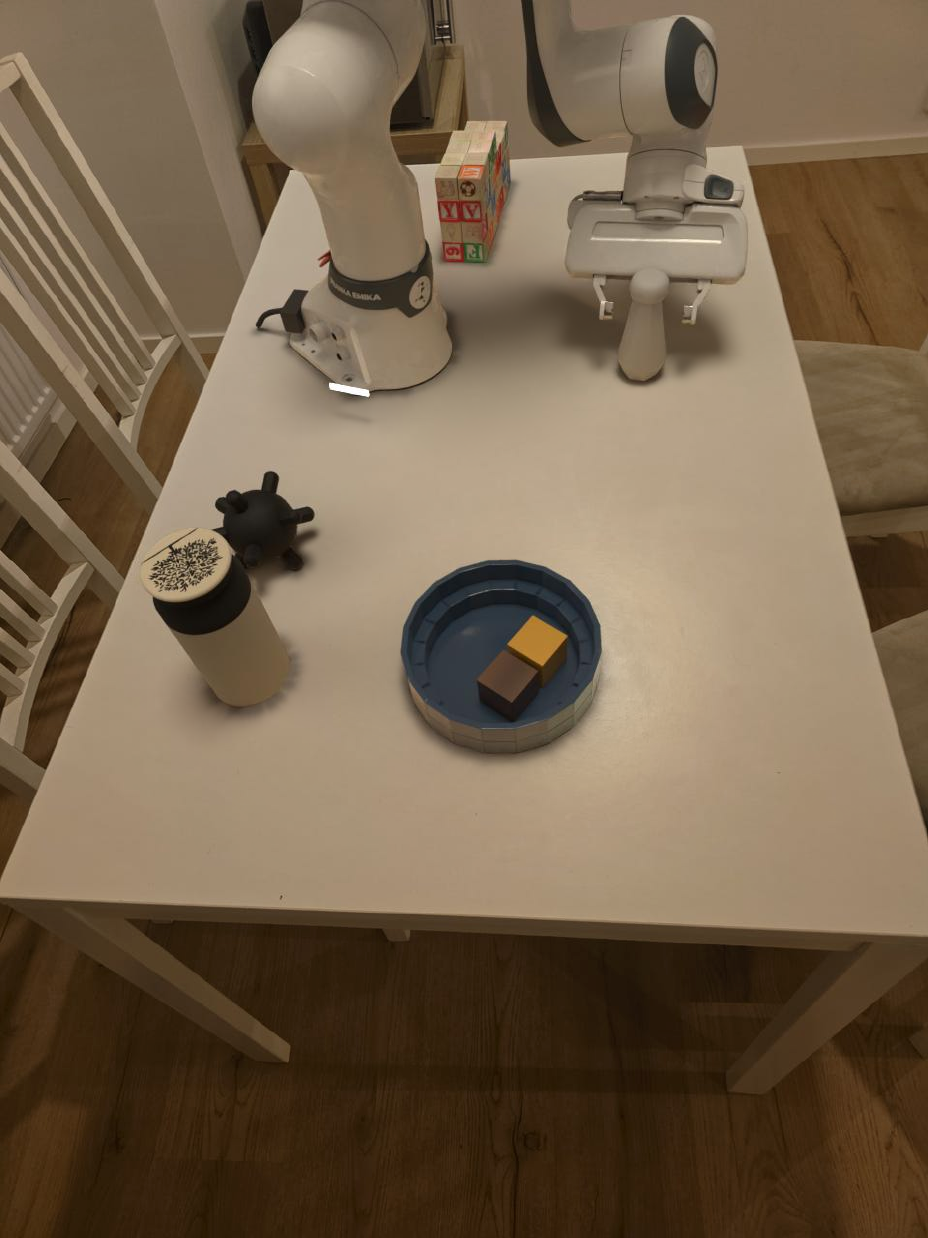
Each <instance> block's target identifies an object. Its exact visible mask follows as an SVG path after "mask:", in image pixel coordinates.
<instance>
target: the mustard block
mask: <svg viewBox="0 0 928 1238" xmlns="http://www.w3.org/2000/svg"><path fill="white" fill-rule="evenodd" d="M567 642H568V636H567V635H565V634H564V633H562V632H560V631H559V630H557V629H555V628H554V627H552V626H550V625H549V624H547V623H545V622H543V621H542V620H540V619H538V618H537V617H535V616H533V615H532V617H531V618H530V619H529V620H528V621H527V622H526V623H525V625H524V626H523V627H522V628H521V629H520V630H519V631H518V633H517V634H516V635H515V636H514V637H513V638H512V639H511V641H510V642H509V643H508V644H507V647H508V653H510V654H512V655H513V656H515V657H516V658H518V659H520V660H521V661H523V662H525V663H526V664H528V665H529V666H531V667H533V668H534V669H536V670H537V671H538V680H539V685H540V686H541V687H544V685H545V684H546V683H547V682H548V680H549V679H550V678H551V677H552V676H553V674H554V673H555V672H556V671H557V670H558V668H559V667H560V666H561V665H562V663H563V662H564V661H565V660H566V659H567Z"/></svg>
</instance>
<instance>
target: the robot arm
mask: <svg viewBox="0 0 928 1238" xmlns="http://www.w3.org/2000/svg"><path fill="white" fill-rule="evenodd" d="M520 2H521V13H522V21H523V23H522V24H523V31H524V43H525V53H526V55H525V56H526V102H527V110H528V114H529V119H530V121H531V123H532V125H533V126H534V128H536V130H537V131H538V132H539V134H541V136H543V137H544V138H545V139H546V140H547V141H548V142H549V143H550V144H552V145H554V147H557V148H567V147H570V146H575V145H579V144H584V143H589V142H591V141H594V140H604V139H614V138H624V137H632V140H631V145H630V148H629V150H628V154H627V157H626V162H625V170H624V171H625V172H624V179H623V187H622V190H602V191H596V190H591V189H590V190H583V191H582V193H580V194H577V195H576V196H575V197H574V198H572V200H571V201H570V203H569V204H568V208H567V217H566V223H567V227H568V229H569V230H570V232H569V235H568V240H567V245H566V249H565V250H566V251H565V257H564V268H565V270H566V272H567V273H568V275H569V276H570V277H571V278H572V279H587V280H588V279H590V280H593V282H592V286H593V290H594V293H595V294H596V297H597V299H598V302H599V304H600V305H599V313H598V314H599V317H598V318H599V321H601V320H602V321H613V316H614V315H613V312H614V307H615V304H614V301H607V299H606V296H605V295H604V292H603V290H606V289H607V281H608V280H609V281H610V280H611V281H631V280H632V277H633V275H634V274H636V273H637V272H638V271H640V270H642V269H646V268H655V269H659V270H661V271H663V272H664V273H665V274H667V276H668V278H669V283H677V284H679V283H680V284H696V289H695V293H696V294H698V296H697V297H696V298H695V300H694V301H693V303H692V305H684V306H683V308H682V318H681V325H696V318H697V312H698V309H699V308H700V306H701V305H702V304H703V302H704V301H705V299H706V298H707V296H708V295H709V293H710V290H711V285H724V286H734V285H737V283H739V282H740V281H741V280H742V279H743V277H745V273H746V268H747V263H748V262H747V261H748V251H749V250H748V248H749V226H748V220H747V216H746V214H745V212H744V211H743V210H742V208H741V207H742V206H743V203H744V198H745V186H744V184H743V183H742V182H741V181H739V180H737V179H734V178H733V177H728V176H726V175H723V174H721V173H718V172H715V171H713V170H710V169H708V168H707V165H708V154H707V139H708V134H709V132H710V129H711V126H712V124H713V119H714V111H715V105H716V104H715V103H716V96H717V95H716V94H717V85H718V84H717V83H718V75H719V74H718V73H719V68H718V67H719V65H718V47H717V46H718V43H717V36H716V33H715V30H714V28H713V27H712V26H711V24H709V23H708V21H706V20H704V19H703V18H701V17H698V16H695V15H691V14H674V15H670V16H665V17H659V18H652V19H645V20H639V21H634V22H632V23H629V24H628V23H627V24H622V25H617V26H611V27H610V26H609V27H604V28H599V29H598V28H597V29H593V30H586V29H583V28H581V27H579V26H578V25H576V24H575V22H574V21H573V15H572V0H520ZM426 37H427V21H426V14H425V10H424V7H423V4H422V1H421V0H302V7H301V10H300V16H299V17H298V18H297V19H296V20H295V21H294V23H292V25H291V26H290V27H289V28H288V29H287V30H285V32H284V33H283V35H281V36H280V37H279V38H278V39H277V40H276V41H275V43H274V44H273V45H272V47H270V50H269V52H268V54H267V56H266V58H265V61H263V65H262V67H261V69H260V72H259V74H258V77H257V78H256V79H257V80H256V82H255V84H254V87H253V90H252V96H251V97H252V98H251V106H252V107H251V108H252V115H253V119H254V122H255V125H256V128H257V130H258V133H259V135H260V137H261V139H262V140H263V142H264V143H265V145H266V146H267V148H268V149H269V150H270V151H271V153H272V154H273V155H274V156H275V157H276V158H277V159H278V160H279V161H280V162H282V163H283V164H284V165H286V166H287V167H289V168H291V169H292V170H294V171H296V172H298V173H301V174H302V175H303V177H304V179H305V180H306V182H307V183H308V185H309V187H310V189H311V191H312V193H313V196H314V198H315V201H316V204H317V206H318V210H319V212H320V217H321V221H322V225H323V228H324V232H325V236H326V239H327V245H328V248H329V250H327V251H326V252H325V253H323V254H322V255H321V256H319V257H318V258H317V261H318V262H319V261H321V262H320V263H319V268H322V267H324V266H326V265H327V264H328V269H327V270H328V272H327V274H326V275H325V276H324V277H323V278H321V279H320V280H318V282H316V283H315V284H314V285H313V286H312V287H311V288H310V289H309V290H305V289H297V288H294V289H293V290H292V292H291V294H290V295H289V297H288V298H287V300H286V301H285V302H284V305H283V306H282V307H277V308H270V309H268V310H266V311H264V312H262V313H261V314H260V316H259V317H258V319H257V321H256V323H255V327H256V328H257V329H259V328H261V327H262V325H263V324H264V322H265V320H266V319H268V318H269V317H272V316H276V315H280V318H281V322H282V325H283V328H284V331H285V333H290V336H289V345H290V348H292V349H293V350H294V351H295V352H297V353H298V354H299V355H301V356H302V357H303V358H304V359H305V360H307V361H308V362H309V363H310V364H312V365H313V366H314V367H315V368H316V369H318V371H320V372H321V373H323V374H324V375H325V376H326V377H327V378H328V379H330V380H331V382H329V384H328V385H329V390H333V391H338V392H343V393H347V394H348V395H350V396H351V395H352V396H356V395H358V396H364V397H370V392H373V391H378V390H398V389H404V388H409V387H413V386H416V385H418V384H421V383H423V382H425V381H428V380H429V379H431V378H432V377H434V376H436V375H437V374H439V372H441V371H442V370H443V369H444V368H445V367H446V365H447V364H448V362H449V360H450V358H451V356H452V352H453V343H452V339H451V338H450V337H451V336H450V334H449V331H448V329H447V326H448V317H447V313H446V310H445V309H443V308H442V306H441V301H440V298H439V293H438V289H437V285H436V281H435V277H434V267H433V255H432V251H431V248H430V244H429V242H428V240H427V239H426V236H425V228H424V222H423V221H424V220H423V214H422V208H421V207H422V205H421V198H420V192H419V191H420V190H419V184H418V181H417V179H416V177H415V175H414V173H413V172H412V171H411V169H410V168H409V167H408V166H406V165H405V164H403V162H400V159H399V158H398V155H397V153H396V150H395V147H394V144H393V140H392V137H391V116H392V111H393V108H394V107H395V105H396V103H397V102H398V101H399V99H400V98H401V96H402V95H403V93H404V92H405V91H406V89H407V88H408V87H409V85H410V83H411V82H412V80H413V79H414V77H415V76H416V73H417V70H418V67H419V64H420V60H421V58H422V54H423V49H424V46H425V41H426ZM581 199H582V200H581Z"/></svg>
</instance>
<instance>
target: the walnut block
mask: <svg viewBox="0 0 928 1238" xmlns="http://www.w3.org/2000/svg"><path fill="white" fill-rule="evenodd" d="M477 686H478V693H479V700H480V701H481V702H483V703H484V704H486V705H487V706H489V707H490V708H492V709H493V710H495V711H496V712H498V713H499V714H501V715H502V716H504V717H505V718H507V719H508V720H510V721H511V722H515V721H516V719H517V718H518V717H519V716H520V714H521V713H522V712H523V711H524V710H525V708H526V707H527V706H528V705H529V704H530V702H531V701H532V700H533V699H534V697H535V696H536V695H537V694H538V693H539V680H538V671H537V670H536V669H534V668H533V667H531V666H529V665H528V664H526V663H525V662H523V661H521V660H520V659H518V658H516V657H515V656H513V655H512V654H510V653H508V652H507V651H505V650H504V649H503V650H502V651H501V652H500V653H499V655H498V656H497V657H496V658H495V659H494V660H493V661H492V663H491V664H490V665H489V666H488V667H487V668H486V669H485V671H484V672H483V673H482V674H481V675H480V676H479V677H478V679H477Z"/></svg>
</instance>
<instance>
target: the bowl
mask: <svg viewBox="0 0 928 1238" xmlns="http://www.w3.org/2000/svg"><path fill="white" fill-rule="evenodd" d="M532 615H533V616H535V617H537V618H538V619H540V620H542V621H543V622H545V623H547V624H549V625H550V626H552V627H554V628H555V629H557V630H559V631H560V632H562V633H564V634H565V635H567V636H568V642H567V659H566V660H565V661H564V662H563V663H562V665H561V666H560V667H559V668H558V670H557V671H556V672H555V673H554V674H553V676H552V677H551V678H550V679H549V680H548V682H547V683H546V684H545V685H544V687H541V686H540V685H539V693H538V694H537V695H536V696H535V697H534V699H533V700H532V701H531V702H530V704H529V705H528V706H527V707H526V708H525V710H524V711H523V712H522V713H521V714H520V716H519V717H518V718H517V719H516V721H515V722H511V721H510V720H508V719H507V718H505V717H504V716H502V715H501V714H499V713H498V712H496V711H495V710H493V709H492V708H490V707H489V706H487V705H486V704H484V703H483V702H481V701H480V700H479V693H478V686H477V679H478V677H479V676H480V675H481V674H482V673H483V672H484V671H485V669H486V668H487V667H488V666H489V665H490V664H491V663H492V661H493V660H494V659H495V658H496V657H497V656H498V655H499V653H500V652H501V651H502V650H503V649H504V650H505V651H507V652H508V647H507V644H508V643H509V642H510V641H511V639H512V638H513V637H514V636H515V635H516V634H517V633H518V631H519V630H520V629H521V628H522V627H523V626H524V625H525V623H526V622H527V621H528V620H529V619H530V618H531V617H532ZM400 643H401V644H400V656H401V660H402V665H403V668H404V671H405V676H406V678H407V683H408V687H409V690H410V693H411V697H412V700H413V703H414V705H415V707H416V708H417V710H418V711H419V712H420V714H421V715H422V717H423V718H424V720H425V721H426V722H427V724H428V725H429V727H431V728H432V729H433V730H435V731H436V732H438V734H440V735H442V736H443V737H445V738H446V739H448V740H449V741H451V742H452V743H453V744H455V745H458V746H462V747H465V748H468V749H471V750H474V751H478V752H481V753H484V754H485V753H486V754H519V753H522V752H526V751H528V750H529V751H530V750H532V749H536V748H540V747H543V746H545V745H548V744H550V743H551V742H553V741H554V740H555V739H557V738H559V737H560V736H561V735H563V734H565V733H566V732H568V731H569V730H571V729H572V728H573V727H574V726H575V725H576V724H577V723H578V721H579V720H580V719H581V718H582V716H583V715H584V714H585V712H586V711H587V710H588V708H589V707H590V706H591V704H592V702H593V699H594V696H595V692H596V689H597V686H598V683H599V680H600V671H601V664H602V654H603V647H602V646H603V645H602V628H601V623H600V621H599V619H598V616H597V614H596V612H595V610H594V608H593V605H592V603H591V601H590V599H589V598H588V597H587V596H586V595H585V594H584V593H583V592H582V591H581V590H580V589H579V588H578V587H577V586H576V584H574V582H573V581H572V580H570V579H569V578H567V577H565V576H564V575H561V574H560V573H558V572H557V571H555V570H553V569H551V568H549V567H548V566H545V565H540V564H537V563H532V562H528V561H525V560H521V559H486V560H483V561H482V560H481V561H479V562H475V563H472V564H467V565H464V566H461V567H457V568H456V569H455V570H453V571H451V572H449V573H448V574H446V575H444V576H442V577H441V578H439V579H437V580H436V581H434V582H433V583H432V584H431V585H430V586H429V587H428V588H427V589H426V590H425V591H424V592H423V594H421V595H420V596H419V597H418V598H417V599H416V601H415V602H414V603H413V605H412V607H411V610H410V612H409V613H408V615H407V617H406V619H405V622H404V624H403V626H402V633H401V642H400Z"/></svg>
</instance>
